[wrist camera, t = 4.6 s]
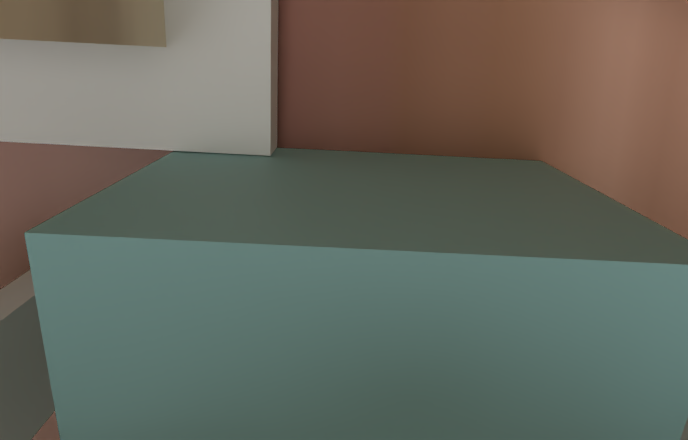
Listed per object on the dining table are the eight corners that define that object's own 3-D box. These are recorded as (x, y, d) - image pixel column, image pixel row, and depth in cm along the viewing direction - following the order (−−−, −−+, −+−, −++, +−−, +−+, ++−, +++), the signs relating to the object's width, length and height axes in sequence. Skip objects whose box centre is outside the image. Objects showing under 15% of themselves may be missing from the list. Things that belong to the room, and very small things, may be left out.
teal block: (205, 425, 14) (103, 689, 8) (190, 141, 11) (24, 232, 5) (488, 437, 14) (588, 709, 8) (539, 159, 11) (739, 267, 5)
